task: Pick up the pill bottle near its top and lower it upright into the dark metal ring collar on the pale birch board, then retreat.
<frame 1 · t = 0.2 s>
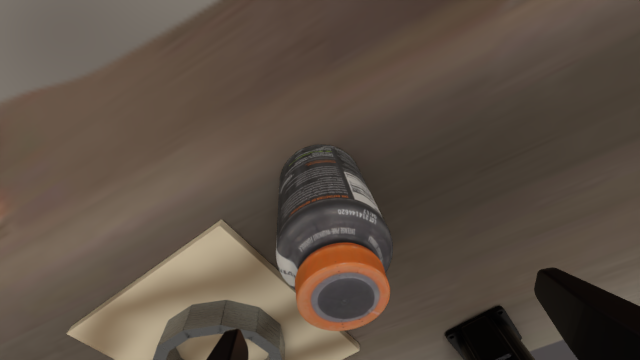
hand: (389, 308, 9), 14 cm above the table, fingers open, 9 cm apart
ring holder: (226, 334, 29), on the table
pill bottle: (319, 178, 22), on the table
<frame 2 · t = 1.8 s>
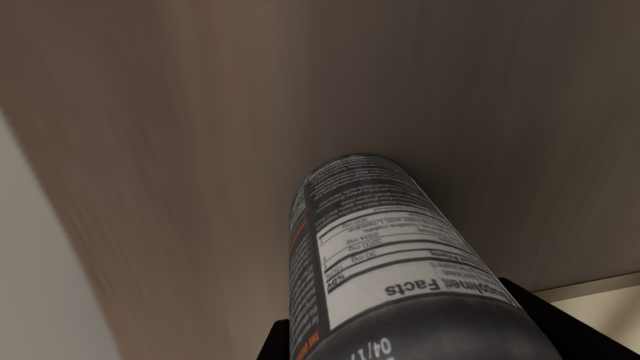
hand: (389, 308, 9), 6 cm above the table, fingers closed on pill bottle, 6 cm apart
pill bottle: (353, 208, 14), on the table, touching gripper
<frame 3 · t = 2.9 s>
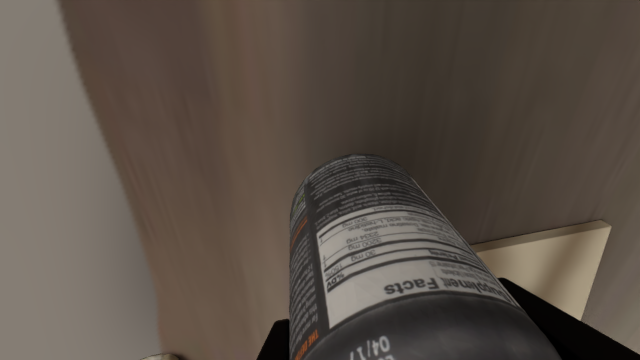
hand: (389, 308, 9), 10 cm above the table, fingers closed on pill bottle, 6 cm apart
ring holder: (460, 327, 26), on the table
pill bottle: (353, 207, 14), point 4 cm above the table, touching gripper
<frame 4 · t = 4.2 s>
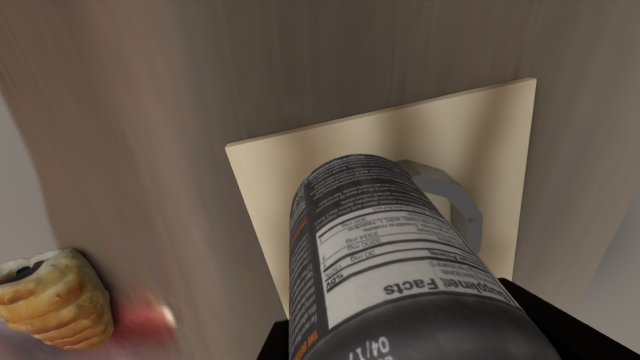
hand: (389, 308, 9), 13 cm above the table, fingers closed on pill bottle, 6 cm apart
pastry: (72, 284, 24), on the table
ring holder: (389, 222, 23), on the table
pill bottle: (353, 207, 14), point 7 cm above the table, touching gripper
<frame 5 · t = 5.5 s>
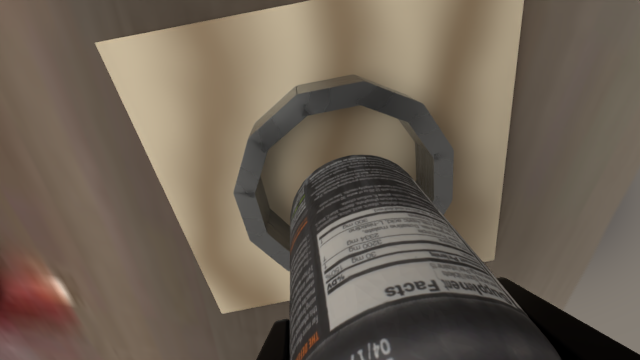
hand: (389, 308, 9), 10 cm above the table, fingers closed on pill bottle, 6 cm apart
ring holder: (338, 170, 18), on the table
pill bottle: (353, 208, 14), point 5 cm above the table, touching gripper
when the fingers open (7 cm above the table, at t = 6.6 s): pill bottle drops 1 cm, resting on ring holder.
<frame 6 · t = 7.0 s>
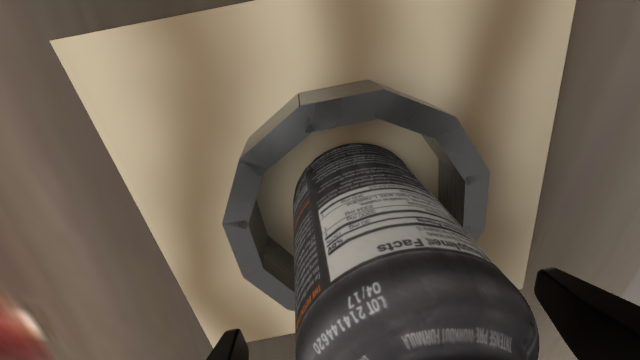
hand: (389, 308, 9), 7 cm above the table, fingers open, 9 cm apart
ring holder: (347, 190, 16), on the table
pill bottle: (352, 194, 15), point 1 cm above the table, touching ring holder
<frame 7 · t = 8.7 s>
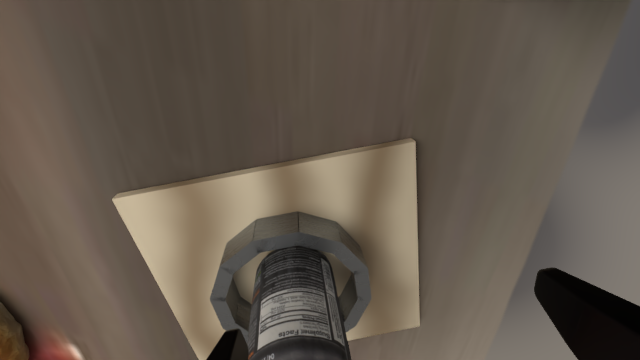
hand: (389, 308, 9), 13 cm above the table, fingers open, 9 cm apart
ring holder: (292, 266, 24), on the table
pill bottle: (294, 271, 23), point 1 cm above the table, touching ring holder
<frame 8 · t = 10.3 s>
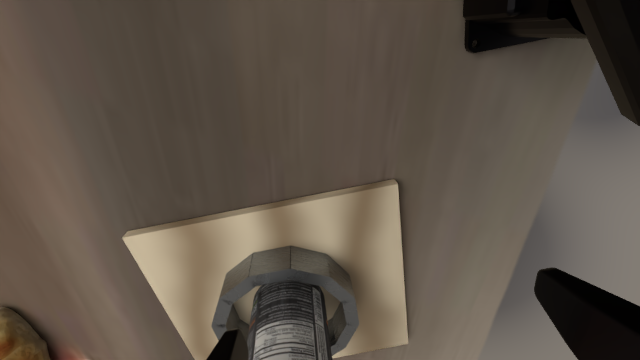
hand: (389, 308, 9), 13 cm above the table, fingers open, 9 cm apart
pastry: (12, 335, 26), on the table
ring holder: (287, 291, 26), on the table
pill bottle: (289, 296, 25), point 1 cm above the table, touching ring holder
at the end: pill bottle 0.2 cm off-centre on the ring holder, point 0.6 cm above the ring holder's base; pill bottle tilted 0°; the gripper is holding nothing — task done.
